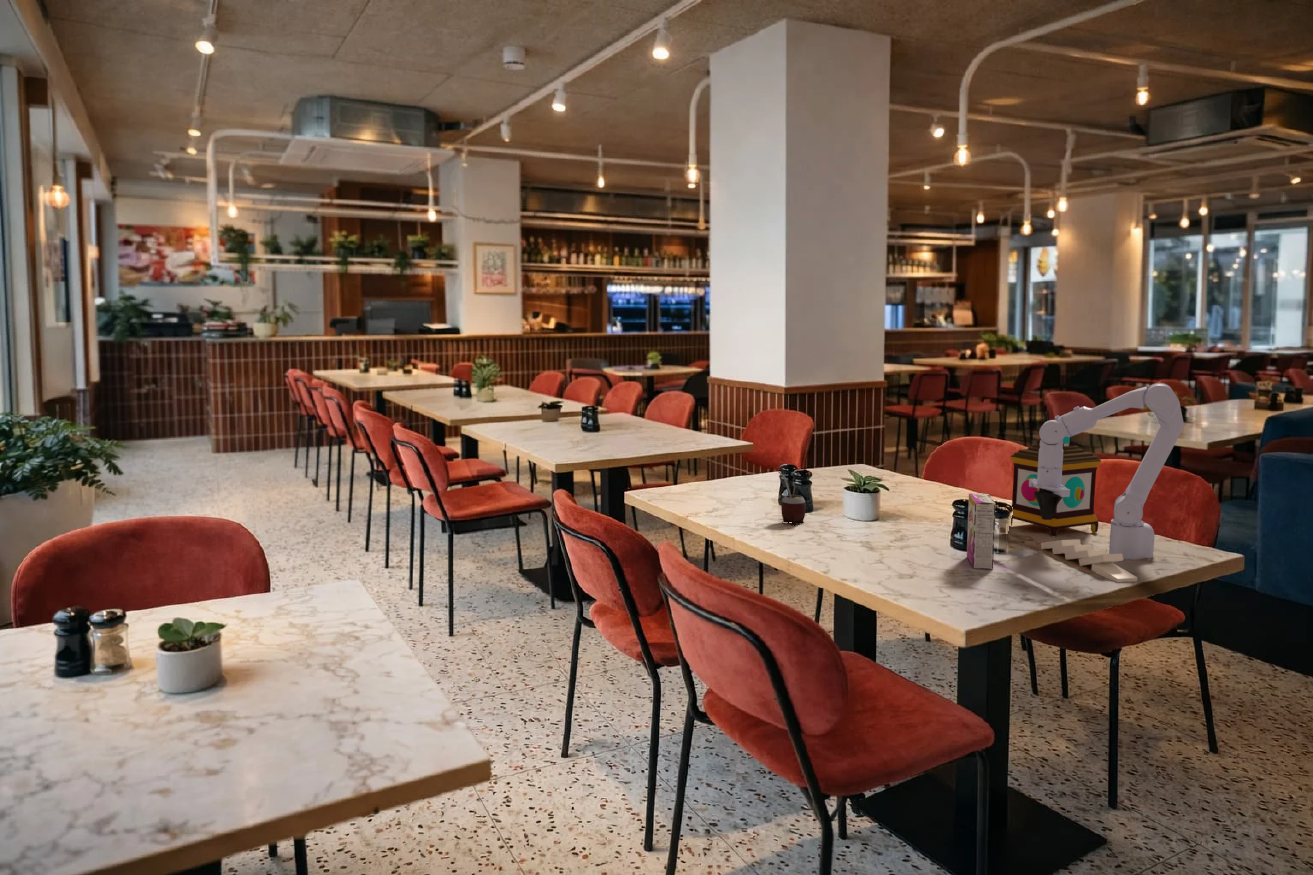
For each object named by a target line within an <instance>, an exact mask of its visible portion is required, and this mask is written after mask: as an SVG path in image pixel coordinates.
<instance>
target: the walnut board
mask: <svg viewBox="0 0 1313 875" xmlns="http://www.w3.org/2000/svg"><path fill="white" fill-rule="evenodd" d="M1025 547H1027V548H1030V549H1031V550H1034V551H1037V552H1039V553H1041V554H1043V555H1045V556H1048V557H1050V558H1053V559H1055V560H1057V561H1059V562H1061V563H1064V564H1066V565H1067V566H1070V567H1073V568H1075V569H1077V570H1078V571H1081V572H1084V573H1086V574H1088V575H1092V574H1095V575H1096V574H1097V573H1096V572H1094V571H1092V570H1091V569H1092V565H1088V566H1080V564H1079V559H1070V560H1066V559H1065V554H1053V549H1042V548H1041V544H1030V545H1029V544H1028V545H1027V544H1026V545H1025Z"/></svg>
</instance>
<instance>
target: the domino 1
mask: <svg viewBox="0 0 1313 875" xmlns="http://www.w3.org/2000/svg"><path fill="white" fill-rule="evenodd" d="M1040 545H1041V548H1042V549H1052V548H1056V547H1064V546H1072V545H1082V544H1081V539H1078V538H1077V539H1061V540H1053V541H1047V542H1041V543H1040Z"/></svg>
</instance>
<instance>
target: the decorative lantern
mask: <svg viewBox="0 0 1313 875" xmlns="http://www.w3.org/2000/svg"><path fill="white" fill-rule="evenodd" d="M1070 439H1071V437H1064V438H1063V447H1062V449H1063V465H1062V481H1061V485H1063V486H1064V487H1066V488H1067V489H1070V497H1062V499H1061V500H1060V501H1059V503H1058V505H1057V507H1056V509H1055V512H1054V515H1053V518H1052V520H1044V519H1042V517H1041V512H1040V507H1039V504H1038V501H1037V499H1036V497H1035V495H1034V492H1035V491H1039V489H1038V488H1035V487H1029V479H1037V474H1038V457H1039V449H1040V441H1041V440H1037V442H1036V443H1034V444H1032V445H1031V446H1029V447H1027V448H1023V449H1022V448H1021V449H1019V450H1018V451H1015V452H1013V454H1011V455H1010V460H1011V462H1012V465H1013V476H1012V477H1013V478H1012V497H1011V506H1012V507H1013V515H1012V518H1011V526H1012V525H1013V522H1014V520H1016V521H1021V522H1025V523H1029V524H1032V525H1036V526H1039V527H1043V528H1047V529H1048V530H1049V533H1050V537H1053V538H1054V537H1057V534H1058V531H1059V530H1062V529H1067V528H1068V529H1069V528H1074V527H1075V528H1076V527H1081V526H1082V527H1083V526H1090V531H1091V533H1093V534H1096V533H1097V532H1098V531H1099V525H1100V524H1099V520H1098V518H1097V516H1096V513H1095V509H1094V508H1095V507H1094V506H1095V493H1096V480H1097V476H1096V475H1097V469H1098V468H1099V467H1100V464H1101V462H1102V460H1101V459H1100V458H1099V457H1098V456H1097V455H1094V453H1092V452H1090V451H1085V450H1084V449H1082V448H1080V447H1079V445H1076V443H1075V441H1074V442H1073V441H1070ZM1011 526H1010V527H1011Z"/></svg>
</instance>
